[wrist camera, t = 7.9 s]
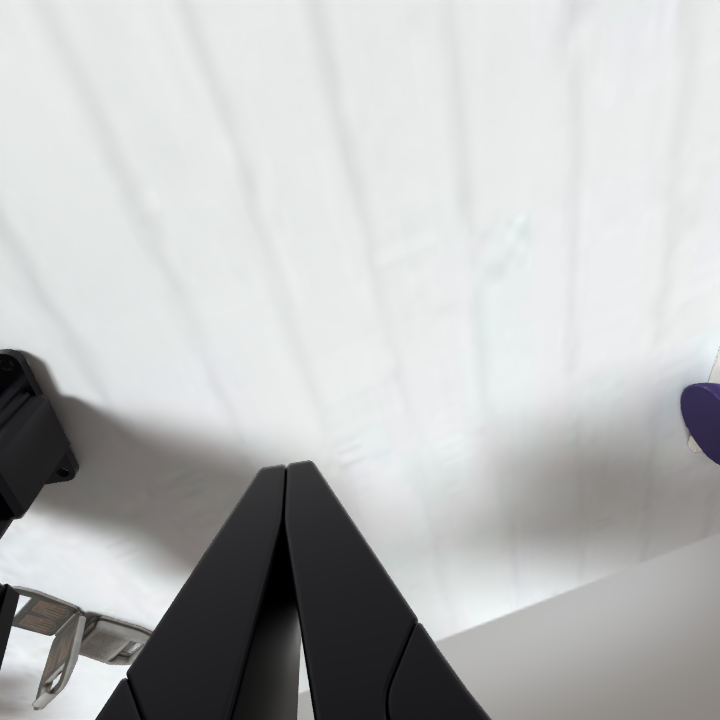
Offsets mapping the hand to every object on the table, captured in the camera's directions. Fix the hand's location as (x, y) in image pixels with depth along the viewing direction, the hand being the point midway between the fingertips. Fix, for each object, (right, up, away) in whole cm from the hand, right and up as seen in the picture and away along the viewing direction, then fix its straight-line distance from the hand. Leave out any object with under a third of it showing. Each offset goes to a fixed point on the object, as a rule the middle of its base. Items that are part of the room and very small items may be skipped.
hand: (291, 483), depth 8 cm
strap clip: (-15, -13, +19) cm, 27 cm away
